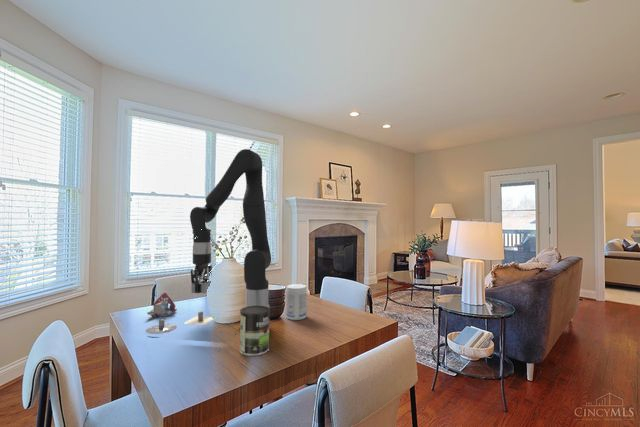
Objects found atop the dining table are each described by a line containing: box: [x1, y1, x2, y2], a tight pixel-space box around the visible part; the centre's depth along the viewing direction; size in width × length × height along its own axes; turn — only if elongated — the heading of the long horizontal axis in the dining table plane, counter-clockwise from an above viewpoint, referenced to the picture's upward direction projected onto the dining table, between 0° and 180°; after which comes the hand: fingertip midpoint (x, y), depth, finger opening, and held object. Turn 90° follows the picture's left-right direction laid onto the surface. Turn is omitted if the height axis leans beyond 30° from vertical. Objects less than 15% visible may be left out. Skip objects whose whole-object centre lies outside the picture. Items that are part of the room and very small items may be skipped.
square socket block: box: [190, 280, 212, 294], centre depth 133 cm, size 6×6×4 cm
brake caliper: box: [146, 292, 178, 320], centre depth 140 cm, size 11×11×12 cm
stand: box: [183, 311, 215, 326], centre depth 133 cm, size 10×10×5 cm
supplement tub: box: [285, 283, 308, 321], centre depth 143 cm, size 10×10×15 cm
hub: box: [145, 318, 178, 339], centre depth 122 cm, size 11×11×5 cm
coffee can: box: [239, 306, 271, 357], centre depth 108 cm, size 10×10×14 cm
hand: (201, 291), depth 133 cm, fingers closed on square socket block, 6 cm apart
